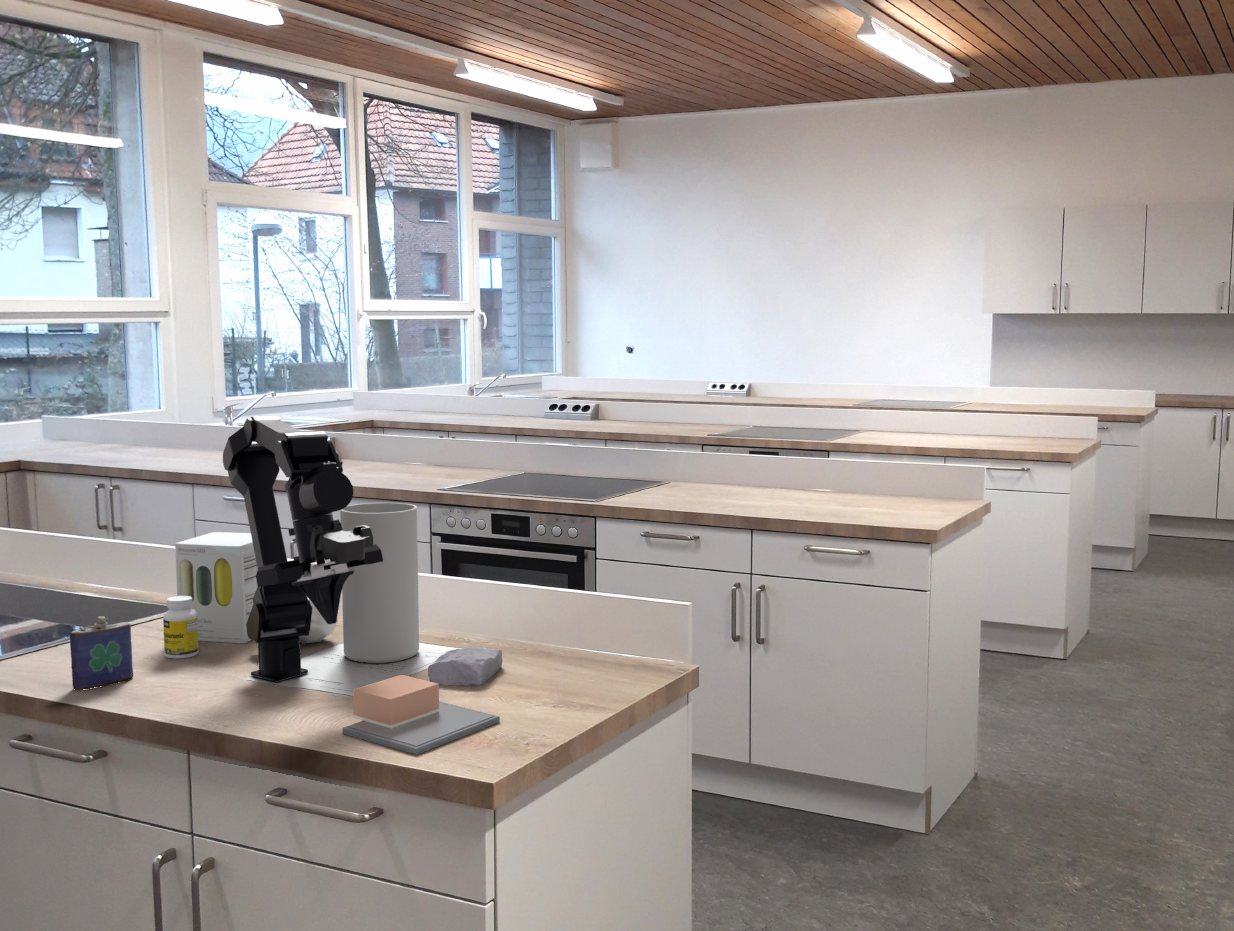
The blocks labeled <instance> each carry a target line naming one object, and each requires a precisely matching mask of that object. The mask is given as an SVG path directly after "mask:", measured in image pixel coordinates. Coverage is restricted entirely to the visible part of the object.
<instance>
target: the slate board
mask: <svg viewBox="0 0 1234 931" xmlns="http://www.w3.org/2000/svg"><path fill="white" fill-rule="evenodd" d="M500 719H501V718H500V715H496V714H492V713H487V712H484V711H479V710H475V709H471V708H468V707H467V708H466V707H463V706H459V705H456V704H455V705H454V704H451V703H447V702H442V701H439V712H436V713H433V714H431V715H428V716H425V717H422V718H419V719H416V720H414V721H411V722H408V723H405V724H402V725H399V726H397V727H394V728H388V727H384V726H381V725H377V724H374V723H370V722H367V721H363V720H360V721H358V722H355V723H353V724H349V725H346V726H344V727H342V734H343V735H347V736H350V737H354V738H356V737H357V739H360V740H364V741H367V742H371V743H375V744H378V745H380V746H381V745H382V746H385V747H389V748H392V749H395V750H398V751H402V752H405V753H409V754H413V755H415V756H417V755H420V754H422V753H425V752H427V751H429V750H433V749H435V748H437V747H438V748H439V747H440V746H442V745H445V744H448V743H450V742H453V741H454V740H459V739H460V738H463V737H465V736H468V735H471V734H473V733H476V732H478V731H480V730H483V729H485V728H488V727H490V726H493V725H496V724H498V723H500V721H501V720H500Z"/></svg>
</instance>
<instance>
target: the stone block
mask: <svg viewBox="0 0 1234 931" xmlns="http://www.w3.org/2000/svg"><path fill="white" fill-rule="evenodd" d="M502 665H503V652H502V649H501V648H499V649H493V648H488V647H482V646H465V647H462V648H456V649H451V650H448V651H446V652H445V653H444V654H441V655H440V656H438V657H437V658H436V660H435V661H434V662H433V663H431V664H428V666H427V675H428V678H429V680H430V682H434V683H438V684H439V685H444V686H446V685H447V686H467V687H468V686H473V687H474V686H476V687H481V686H482V685H484V684H485V683H486V682H487V681H488V680H489V679H490V678H492V676H494V675H495V674H496V673H497V672H498V671H500V669H501V668H502Z"/></svg>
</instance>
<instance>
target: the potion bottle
mask: <svg viewBox="0 0 1234 931" xmlns="http://www.w3.org/2000/svg"><path fill="white" fill-rule="evenodd" d="M307 598H308V597H307ZM308 599H309V598H308ZM309 601H310V604H311V606H312V608H313V609H312V617H311V626H310V631H309V636H298V637H299V643H301V644H302V645H303V644H304V645H305V644H306V645H307V644H314V643H315V644H316V643H321V642H322V641H323V640H325V639H326V638H327V637H329V636H331V635H332V634H333V632H334V629H335V628H336V626H337V623H338V621H339V620H338V618H337V621H336V623H334V624H327V623H326V621H325V620H324V618H323V617H322V616H321V614H320V613H319V611H318V610H317V609H316V607H315V606H314V604H313V603H312V602H311V600H310V599H309ZM261 631H262V630H261Z"/></svg>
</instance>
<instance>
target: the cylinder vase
mask: <svg viewBox="0 0 1234 931" xmlns="http://www.w3.org/2000/svg"><path fill="white" fill-rule="evenodd" d="M339 511H340V513H339V514H340V515H339V516H340V519H339V521H340V523H341V525H342V529H343V531H346V532H348V531H353V530H354V528H355V527H357V526H363V525H366V526H369V527H371V531H372V535H373V545H374V544H376V545H377V546H378V547H379V548H380V549H381V550H382V555H383V562H378V563H373V564H369V565H367V564H365V565H359V566H354V567H350V568H348V571H353V570H354V573H353V574H351V575H350V576H349V577H348V578H347V580H346V581H345V583H344V585H343V588H342V592H341V596H342V597H341V599H342V601H341V602H342V631H343V633H342V635H343V638H342V639H343V654H344V656H345V657H346V658H347V659H348V660H351V661H353V660H354V661H353V662H357V661H359V662H358V663H363V662H367V663H366V664H386V663H387V662H388V663H394V662H400V661H404V660H407V659H410V658H413V657H414V656H415V655H417V653H418V652H419V650H420V618H419V612H420V611H419V610H420V609H419V566H418V565H419V564H418V560H419V559H418V558H419V557H418V556H419V554H418V507H417V505H414V504H412V503H404V502H403V503H402V502H369V503H368V502H367V503H357V504H348V506H347V507H345V508H344V509H342V510H339ZM388 663H387V664H388Z"/></svg>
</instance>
